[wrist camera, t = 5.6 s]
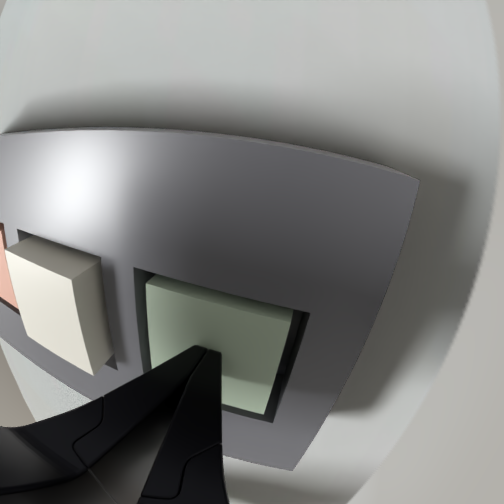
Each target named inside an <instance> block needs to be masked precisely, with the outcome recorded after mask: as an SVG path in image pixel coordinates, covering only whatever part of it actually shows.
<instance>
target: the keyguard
mask: <svg viewBox="0 0 504 504" xmlns="http://www.w3.org/2000/svg"><path fill="white" fill-rule="evenodd" d="M419 183H420V180H418V179H416V178H414V177H411V176H409V175H407V174H404V173H402V172H400V171H397V170H395V169H393V168H390V167H388V166H385V165H381V164H377V163H374V162H370V161H366V160H362V159H358V158H354V157H350V156H346V155H342V154H337V153H333V152H329V151H324V150H319V149H314V148H310V147H304V146H299V145H294V144H288V143H283V142H277V141H271V140H265V139H258V138H251V137H244V136H237V135H229V134H220V133H211V132H201V131H189V130H177V129H161V128H137V127H80V128H58V129H43V130H31V131H21V132H13V133H5V134H0V222H1V223H3V224H4V229H5V236H6V242H7V248H8V247H10V246H12V245H14V244H16V243H18V242H20V241H22V240H24V239H26V238H29V237H31V236H33V235H36V236H39V237H42V238H45V239H48V240H51V241H54V242H57V243H60V244H63V245H66V246H69V247H72V248H75V249H78V250H81V251H84V252H87V253H90V254H93V255H96V256H99V257H101V264H102V275H103V284H104V293H105V300H106V308H107V315H108V321H109V327H110V333H111V339H112V344H113V349H114V354H113V355H112V356H111V357H110V358H109V359H108V361H107V362H106V363H105V364H104V365H103V366H102V367H101V368H100V370H99V371H98V372H97V373H96V374H95V375H94V376H93V375H91V374H89V373H87V372H85V371H84V370H82V369H80V368H78V367H77V366H75V365H73V364H71V363H70V362H68V361H66V360H65V359H63V358H61V357H60V356H58V355H56V354H55V353H53V352H51V351H50V350H48V349H47V348H45V347H44V346H42V345H41V344H39V343H38V342H36V341H35V340H33V339H32V338H30V337H29V336H28V335H27V333H26V330H25V327H24V324H23V321H22V318H21V314H20V311H19V309H17V308H16V307H14V306H13V305H12V304H10V303H9V302H7V301H6V300H4V299H3V298H2V297H0V337H1V338H2V339H4V340H5V341H6V342H7V343H8V344H10V345H11V346H12V347H13V348H15V349H16V350H17V351H18V352H20V353H21V354H22V355H24V356H25V357H26V358H28V359H29V360H30V361H32V362H33V363H34V364H36V365H37V366H39V367H40V368H41V369H43V370H44V371H46V372H47V373H49V374H50V375H52V376H53V377H55V378H56V379H58V380H59V381H61V382H62V383H64V384H66V385H67V386H69V387H70V388H72V389H74V390H75V391H77V392H79V393H80V394H82V395H84V396H86V397H87V398H89V399H91V400H95V399H96V398H98V397H100V396H103V397H104V394H106V393H108V392H110V391H112V390H114V389H116V388H118V387H120V386H122V385H123V384H125V383H127V382H129V381H131V380H133V379H135V378H136V377H138V376H140V375H142V374H144V373H145V372H147V371H149V370H151V369H152V364H151V355H150V344H149V332H148V319H147V301H146V283H147V282H148V281H149V280H150V279H151V278H152V277H153V276H155V275H156V274H159V275H163V276H166V277H170V278H173V279H177V280H181V281H184V282H188V283H192V284H195V285H199V286H203V287H206V288H210V289H214V290H218V291H222V292H225V293H229V294H233V295H237V296H241V297H245V298H249V299H253V300H257V301H261V302H266V303H270V304H274V305H278V306H282V307H287V308H291V309H293V314H292V319H291V324H290V327H289V331H288V335H287V338H286V342H285V345H284V349H283V352H282V356H281V359H280V363H279V366H278V370H277V373H276V376H275V380H274V383H273V386H272V389H271V393H270V396H269V399H268V402H267V405H266V409H265V412H264V414H260V413H256V412H252V411H248V410H244V409H240V408H237V407H233V406H230V405H226V404H223V403H222V446H223V455H225V456H228V457H232V458H236V459H239V460H243V461H247V462H251V463H256V464H260V465H264V466H269V467H274V468H279V469H284V470H290V471H293V469H294V468H295V467H296V465H297V464H298V462H299V461H300V459H301V458H302V456H303V455H304V453H305V452H306V450H307V448H308V447H309V445H310V444H311V442H312V441H313V439H314V437H315V436H316V434H317V433H318V431H319V429H320V428H321V426H322V424H323V423H324V421H325V419H326V417H327V416H328V414H329V412H330V410H331V409H332V407H333V405H334V403H335V402H336V400H337V398H338V396H339V394H340V392H341V390H342V389H343V387H344V385H345V383H346V381H347V379H348V377H349V375H350V373H351V371H352V369H353V367H354V365H355V363H356V361H357V359H358V357H359V355H360V352H361V350H362V348H363V346H364V344H365V342H366V339H367V337H368V335H369V333H370V330H371V328H372V326H373V323H374V321H375V319H376V316H377V314H378V311H379V309H380V306H381V304H382V301H383V299H384V296H385V294H386V291H387V288H388V286H389V283H390V280H391V278H392V275H393V272H394V269H395V266H396V263H397V260H398V257H399V254H400V251H401V248H402V245H403V242H404V239H405V235H406V232H407V229H408V225H409V222H410V218H411V215H412V211H413V207H414V204H415V200H416V196H417V192H418V188H419Z"/></svg>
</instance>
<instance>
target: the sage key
mask: <svg viewBox="0 0 504 504" xmlns="http://www.w3.org/2000/svg"><path fill="white" fill-rule="evenodd" d="M146 301H147V319H148V332H149V344H150V355H151V364H152V369H153V368H155V367H156V366H158V365H160V364H162V363H163V362H165V361H167V360H169V359H171V358H172V357H174V356H176V355H178V354H179V353H181V352H183V351H184V350H186V349H188V348H190V347H191V346H193V345H199V346H202V347H205V348H207V349H208V350H209V349H212V350H215V351H219V352H221V353H222V403H223V404H226V405H230V406H233V407H237V408H240V409H244V410H248V411H252V412H256V413H260V414H264V412H265V409H266V405H267V402H268V399H269V396H270V393H271V389H272V386H273V383H274V380H275V376H276V373H277V370H278V366H279V363H280V359H281V356H282V352H283V349H284V345H285V342H286V338H287V335H288V331H289V327H290V324H291V319H292V314H293V309H291V308H287V307H282V306H278V305H274V304H270V303H266V302H261V301H257V300H253V299H249V298H245V297H241V296H237V295H233V294H229V293H225V292H222V291H218V290H214V289H210V288H206V287H203V286H199V285H195V284H192V283H188V282H184V281H181V280H177V279H173V278H170V277H166V276H163V275H159V274H156V275H155V276H153V277H152V278H151V279H150V280H149V281H148V282H147V283H146Z"/></svg>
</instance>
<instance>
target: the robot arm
mask: <svg viewBox="0 0 504 504" xmlns="http://www.w3.org/2000/svg"><path fill="white" fill-rule="evenodd" d="M0 504H229V499H228V495H227V490H226V484H225V478H224V469H223V446H222V353H221V352H219V351H215V350H212V349H209V350H208V349H207V348H205V347H202V346H199V345H193V346H191V347H190V348H188V349H186V350H184V351H183V352H181V353H179V354H178V355H176V356H174V357H172V358H171V359H169V360H167V361H165V362H163V363H162V364H160V365H158V366H156V367H155V368H153V369H151V370H149V371H147V372H145V373H144V374H142V375H140V376H138V377H136V378H135V379H133V380H131V381H129V382H127V383H125V384H123V385H122V386H120V387H118V388H116V389H114V390H112V391H110V392H108V393H106V394H104V397H103V396H100V397H98V398H96V399H95V400H93V401H91V402H88V403H86V404H84V405H82V406H80V407H78V408H75V409H73V410H70V411H67V412H65V413H62V414H59V415H57V416H54V417H51V418H48V419H45V420H41V421H38V422H35V423H32V424H29V425H26V426H21V427H2V426H0Z"/></svg>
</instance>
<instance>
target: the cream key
mask: <svg viewBox="0 0 504 504" xmlns="http://www.w3.org/2000/svg"><path fill="white" fill-rule="evenodd" d="M4 250H5V255H6V260H7V265H8V269H9V274H10V278H11V282H12V286H13V290H14V294H15V297H16V301H17V305H18V308H19V311H20V314H21V318H22V321H23V324H24V327H25V330H26V333H27V335H28V336H29V337H30V338H32V339H33V340H35V341H36V342H38V343H39V344H41V345H42V346H44V347H45V348H47V349H48V350H50V351H51V352H53V353H55V354H56V355H58V356H60V357H61V358H63V359H65V360H66V361H68V362H70V363H71V364H73V365H75V366H77V367H78V368H80V369H82V370H84V371H85V372H87V373H89V374H91V375H93V376H94V375H95V374H96V373H97V372H98V371H99V370H100V368H101V367H102V366H103V365H104V364H105V363H106V362H107V361H108V359H109V358H110V357H111V356H112V355H113V354H114V349H113V344H112V339H111V333H110V327H109V321H108V315H107V308H106V300H105V293H104V284H103V275H102V264H101V257H99V256H96V255H93V254H90V253H87V252H84V251H81V250H78V249H75V248H72V247H69V246H66V245H63V244H60V243H57V242H54V241H51V240H48V239H45V238H42V237H39V236H36V235H33V236H31V237H29V238H26V239H24V240H22V241H20V242H18V243H16V244H14V245H12V246H10V247H8V248H6V249H4Z"/></svg>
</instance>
